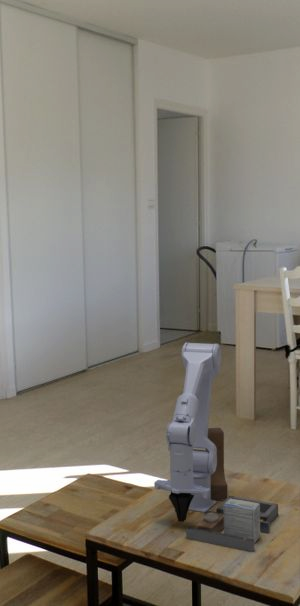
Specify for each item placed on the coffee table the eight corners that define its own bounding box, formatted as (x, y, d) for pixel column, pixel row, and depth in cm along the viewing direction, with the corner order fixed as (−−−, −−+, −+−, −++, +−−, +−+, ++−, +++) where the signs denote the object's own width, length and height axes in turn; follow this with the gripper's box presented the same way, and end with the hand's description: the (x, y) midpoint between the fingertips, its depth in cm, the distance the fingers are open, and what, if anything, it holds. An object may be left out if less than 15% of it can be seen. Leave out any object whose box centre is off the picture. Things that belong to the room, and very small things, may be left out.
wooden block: (227, 500, 205) (227, 436, 203) (211, 501, 205) (211, 437, 203) (221, 488, 214) (220, 427, 212) (205, 489, 214) (205, 428, 212)
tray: (216, 519, 193) (216, 508, 192) (229, 506, 201) (229, 495, 201) (266, 528, 187) (266, 517, 186) (278, 515, 195) (278, 504, 194)
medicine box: (260, 537, 182) (260, 503, 181) (254, 544, 178) (254, 509, 177) (230, 531, 186) (230, 497, 185) (223, 538, 182) (223, 504, 181)
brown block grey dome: (196, 536, 183) (196, 521, 182) (210, 522, 190) (210, 508, 190) (211, 539, 181) (211, 524, 180) (225, 525, 189) (225, 511, 188)
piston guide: (186, 538, 182) (185, 527, 182) (206, 519, 193) (206, 509, 193) (252, 552, 174) (252, 541, 174) (269, 531, 185) (269, 520, 185)
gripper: (148, 469, 187) (149, 521, 189) (201, 477, 181) (202, 531, 182) (161, 460, 193) (161, 511, 195) (213, 468, 187) (213, 520, 188)
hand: (182, 520), depth 189 cm, fingers closed
